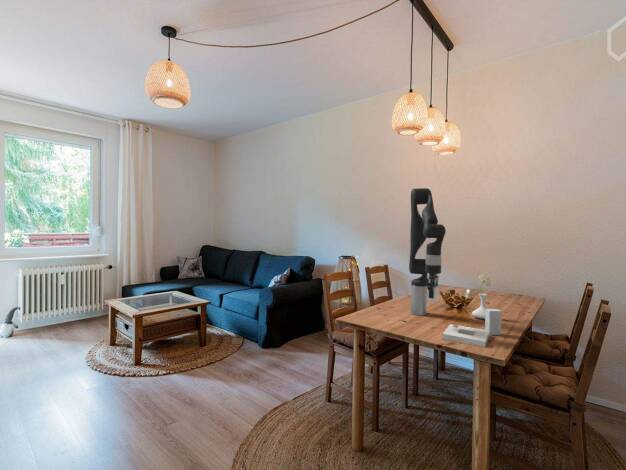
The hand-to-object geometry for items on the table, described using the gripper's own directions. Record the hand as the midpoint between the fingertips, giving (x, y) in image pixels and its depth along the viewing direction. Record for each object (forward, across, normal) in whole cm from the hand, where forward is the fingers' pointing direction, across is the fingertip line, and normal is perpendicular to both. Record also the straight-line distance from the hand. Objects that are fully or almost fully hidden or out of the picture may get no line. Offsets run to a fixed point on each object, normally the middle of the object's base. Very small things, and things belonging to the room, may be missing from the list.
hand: (432, 296), depth 169 cm
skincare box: (+18, -13, +26) cm, 34 cm away
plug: (+2, 0, 0) cm, 2 cm away
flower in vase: (+18, -42, +18) cm, 49 cm away
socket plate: (+17, +1, +16) cm, 24 cm away
